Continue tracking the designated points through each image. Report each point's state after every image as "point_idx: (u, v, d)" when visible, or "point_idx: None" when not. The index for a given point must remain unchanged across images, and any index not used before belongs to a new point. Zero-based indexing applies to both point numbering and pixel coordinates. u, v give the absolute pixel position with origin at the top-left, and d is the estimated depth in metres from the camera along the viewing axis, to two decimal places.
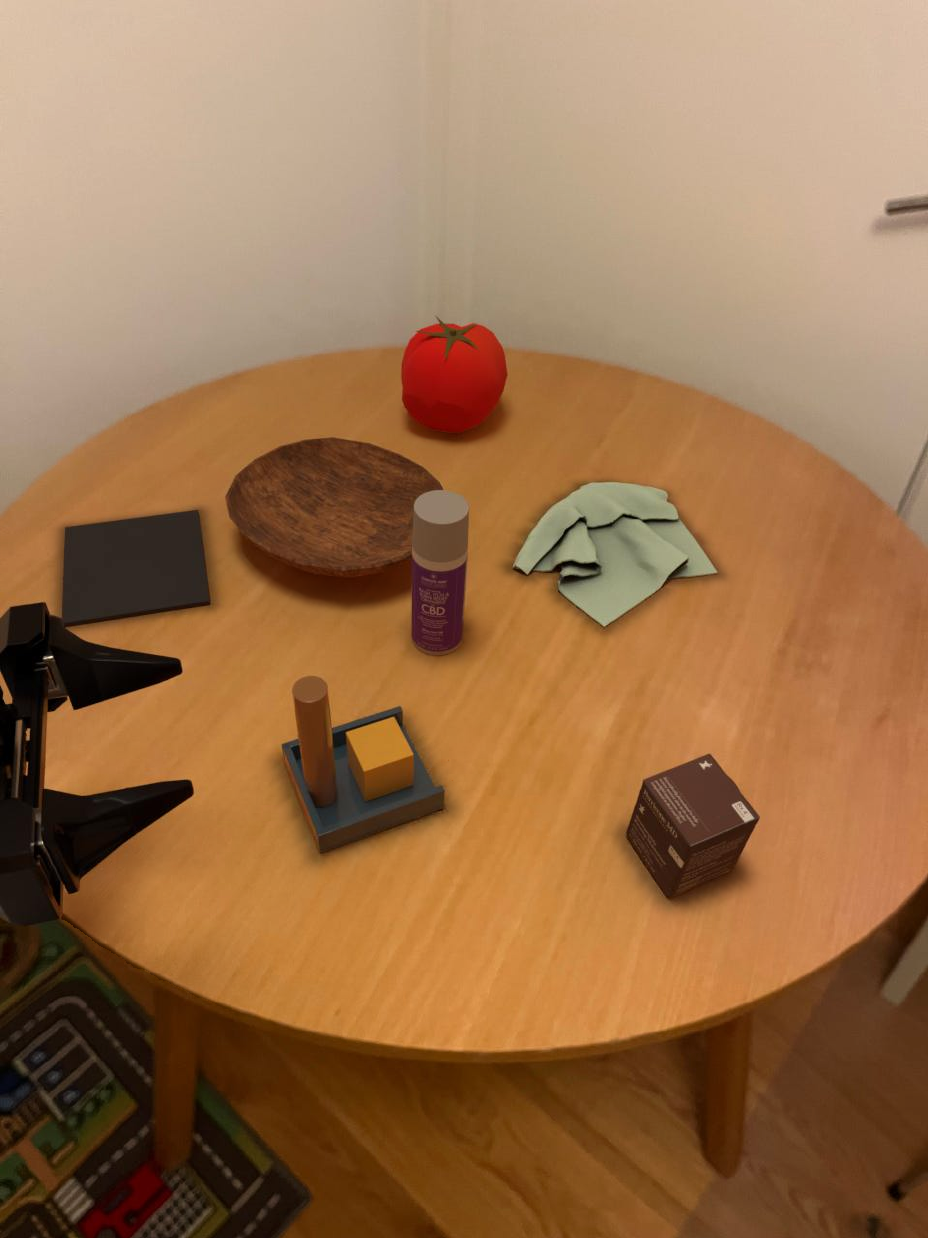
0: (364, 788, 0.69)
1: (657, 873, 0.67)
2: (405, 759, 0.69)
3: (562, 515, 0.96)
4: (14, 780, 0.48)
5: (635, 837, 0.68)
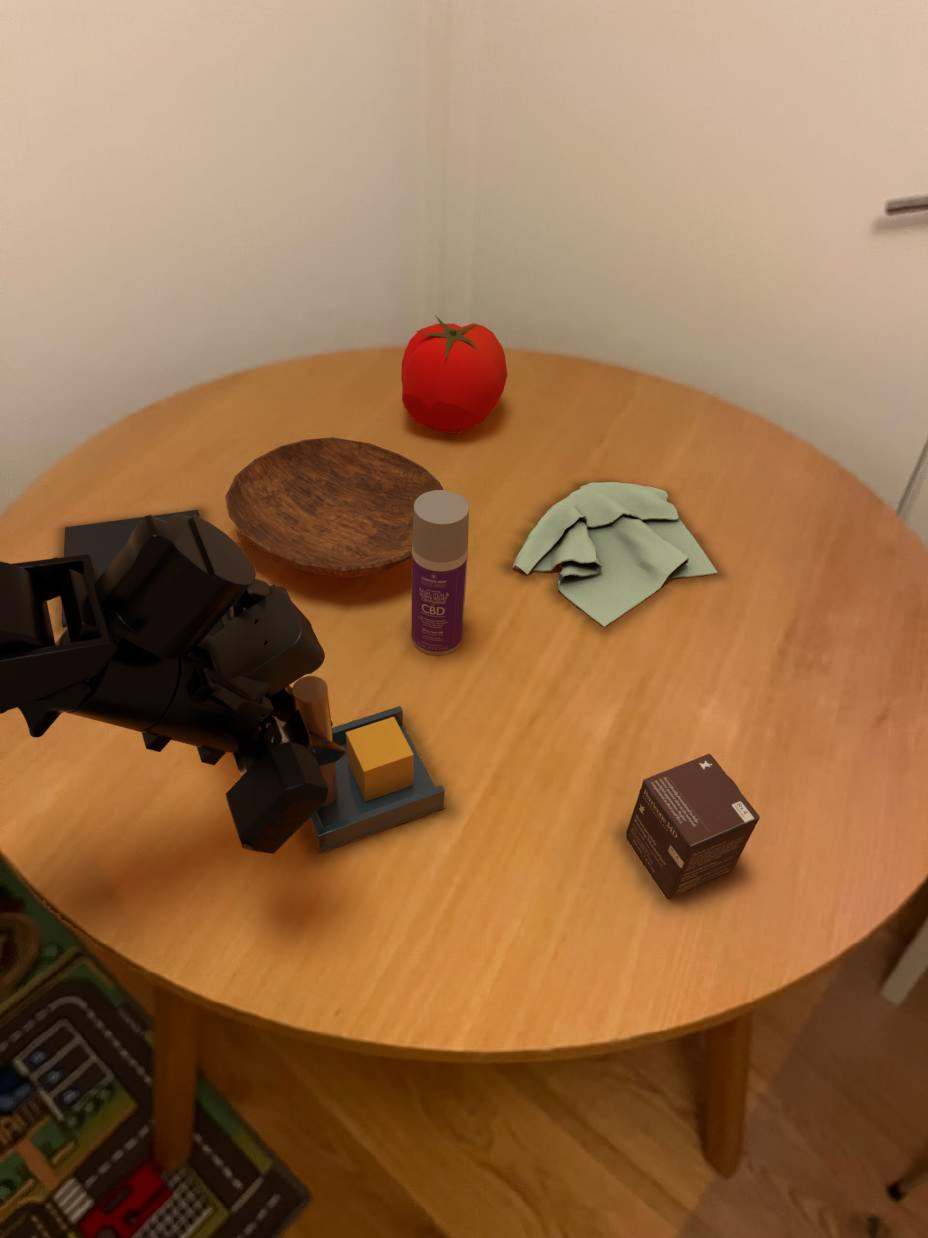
0: (364, 788, 0.69)
1: (657, 873, 0.67)
2: (405, 758, 0.69)
3: (562, 515, 0.96)
4: None
5: (635, 837, 0.68)
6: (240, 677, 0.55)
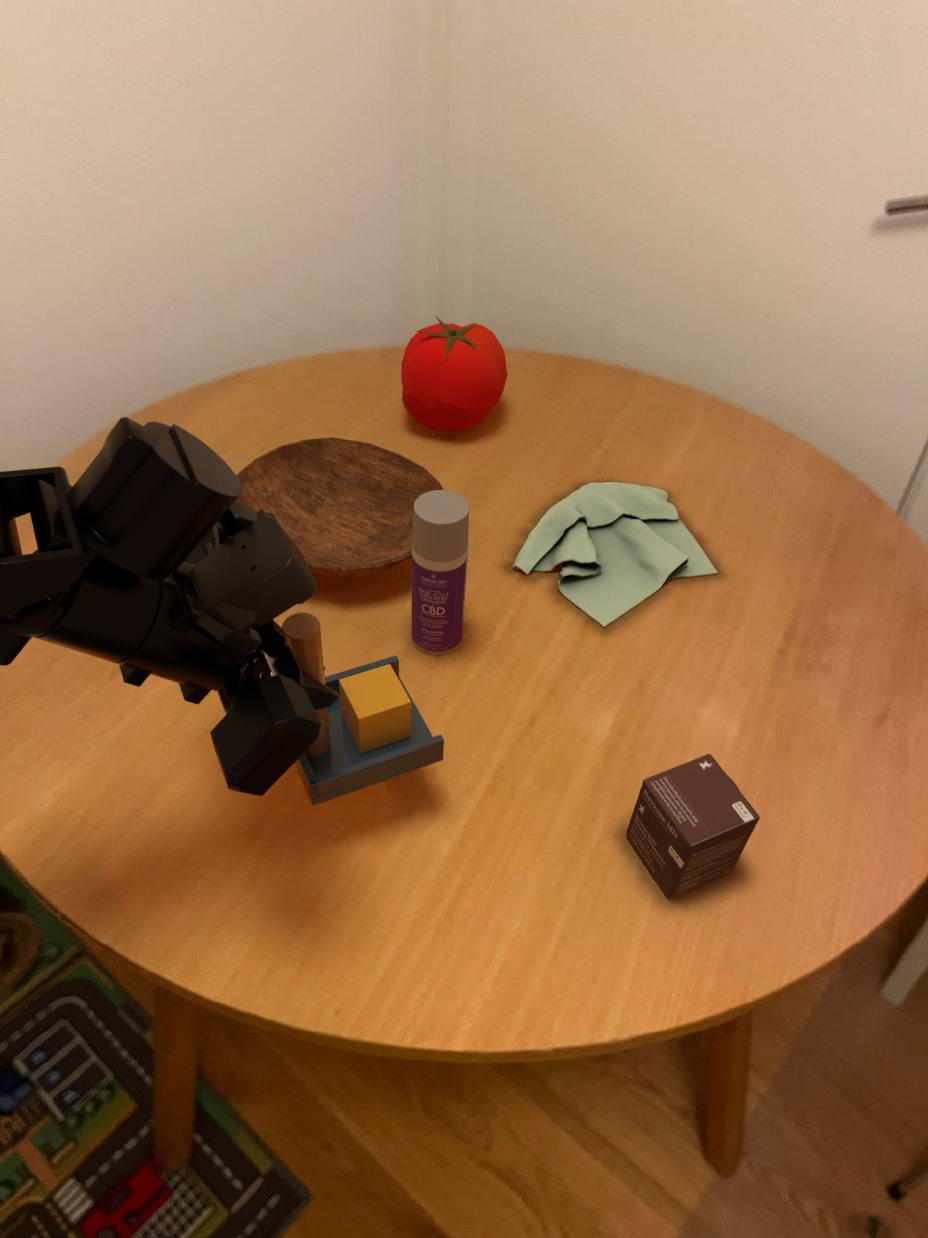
0: (359, 738, 0.65)
1: (657, 873, 0.67)
2: (402, 706, 0.65)
3: (562, 515, 0.96)
4: None
5: (635, 837, 0.68)
6: (225, 604, 0.51)
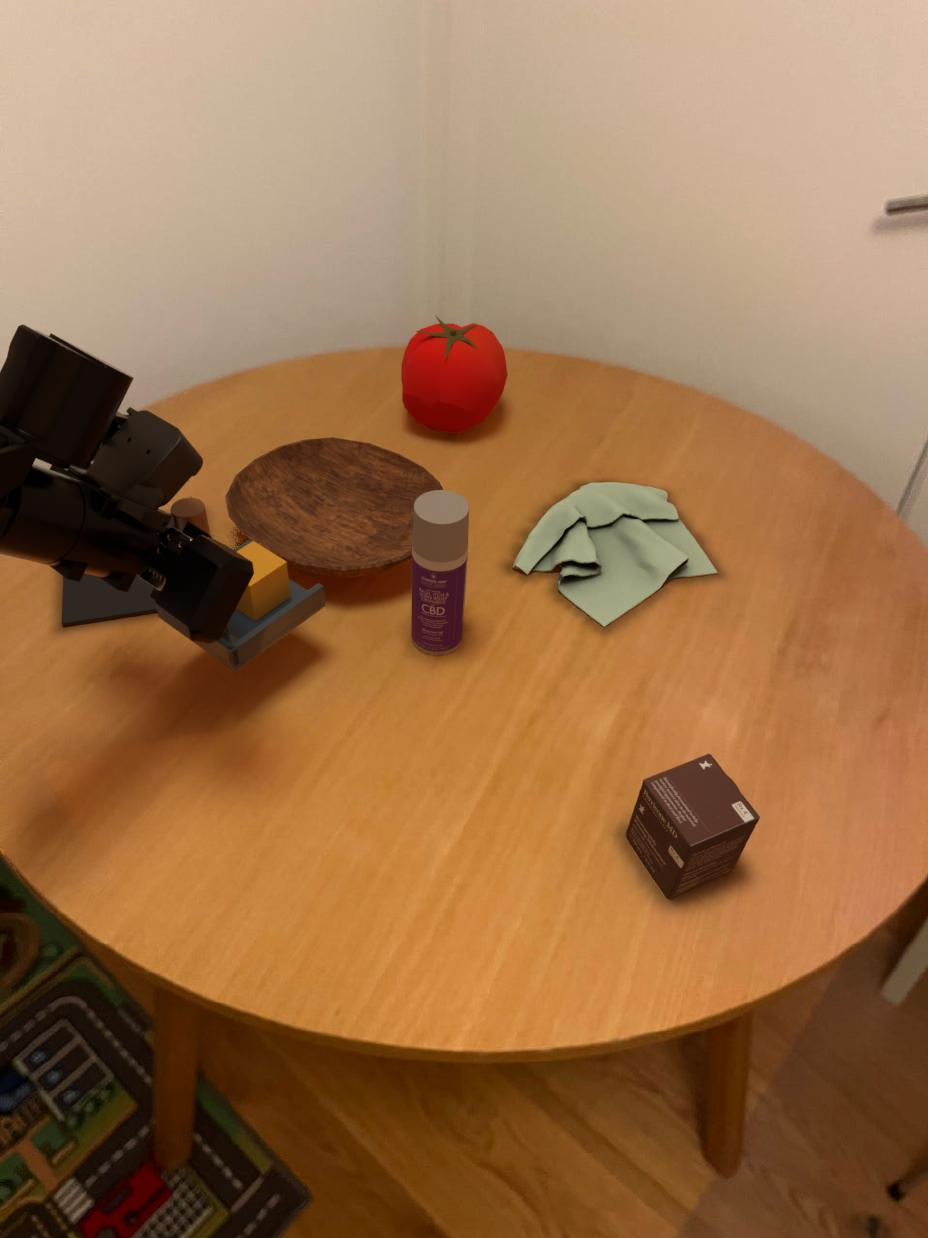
0: (252, 606, 0.74)
1: (657, 873, 0.67)
2: (280, 567, 0.74)
3: (562, 515, 0.96)
4: None
5: (635, 837, 0.68)
6: (137, 486, 0.58)
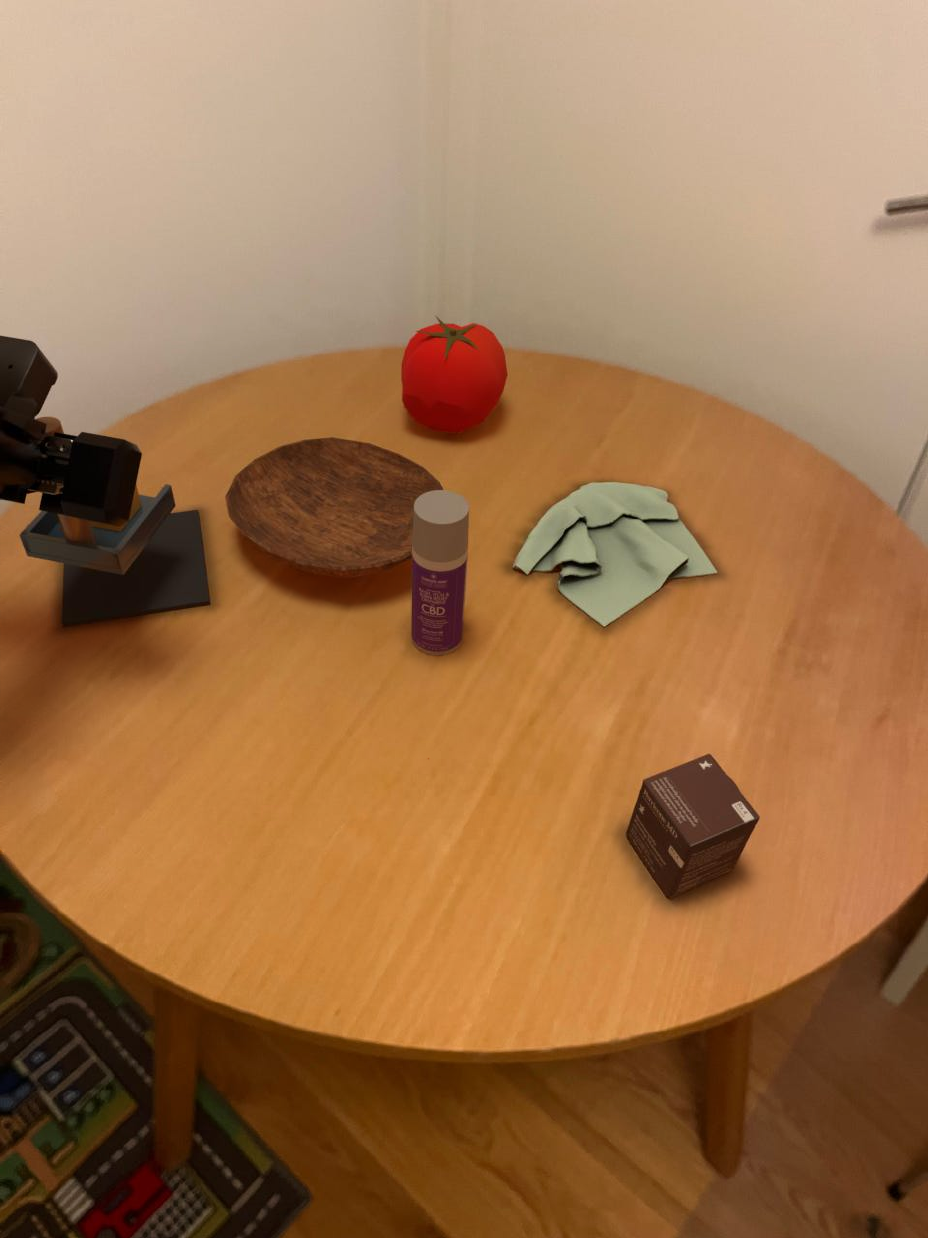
0: None
1: (657, 873, 0.67)
2: None
3: (562, 515, 0.96)
4: None
5: (635, 837, 0.68)
6: (13, 397, 0.63)
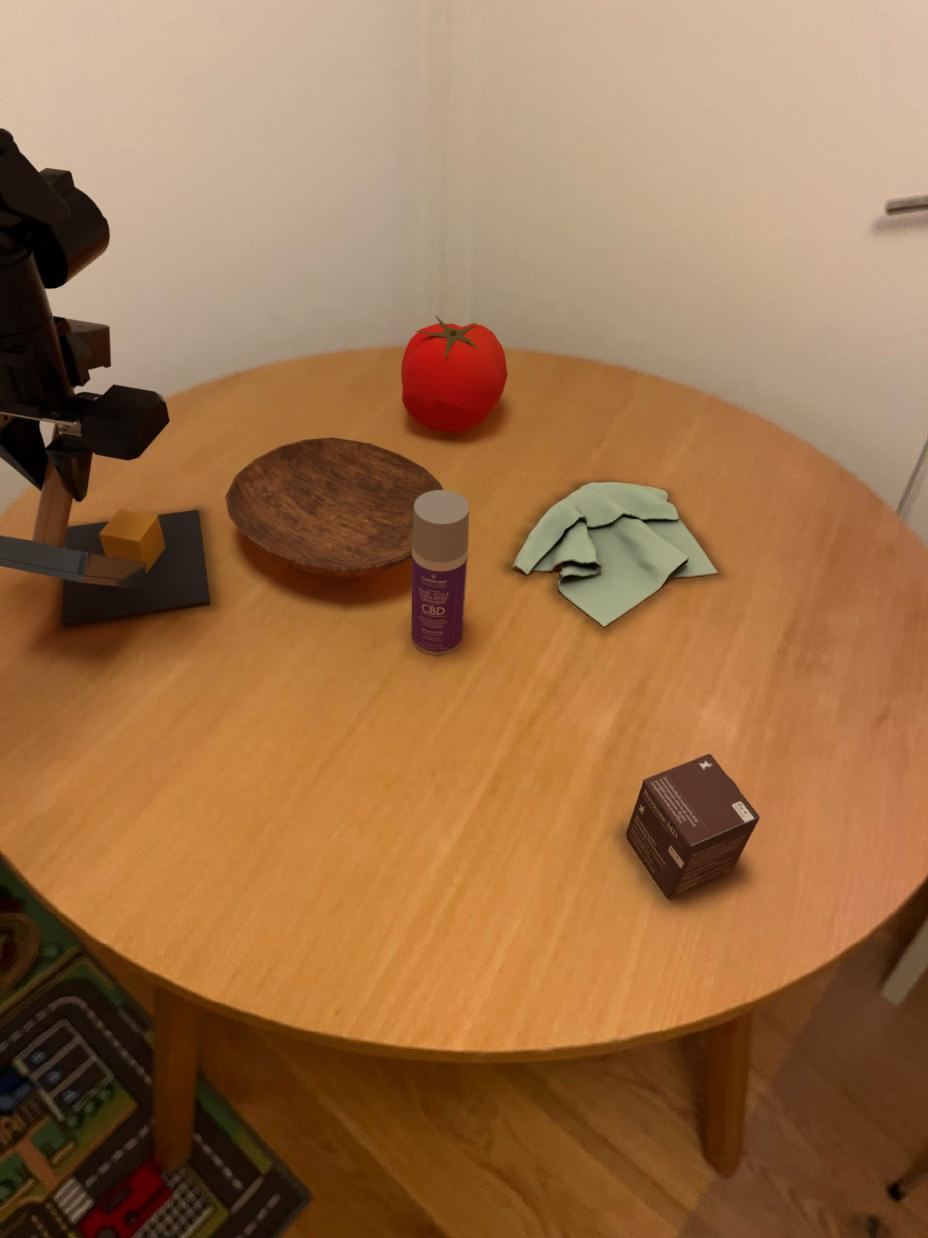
0: (146, 529, 0.86)
1: (657, 873, 0.67)
2: (163, 542, 0.90)
3: (562, 515, 0.96)
4: None
5: (635, 837, 0.68)
6: (77, 334, 0.69)
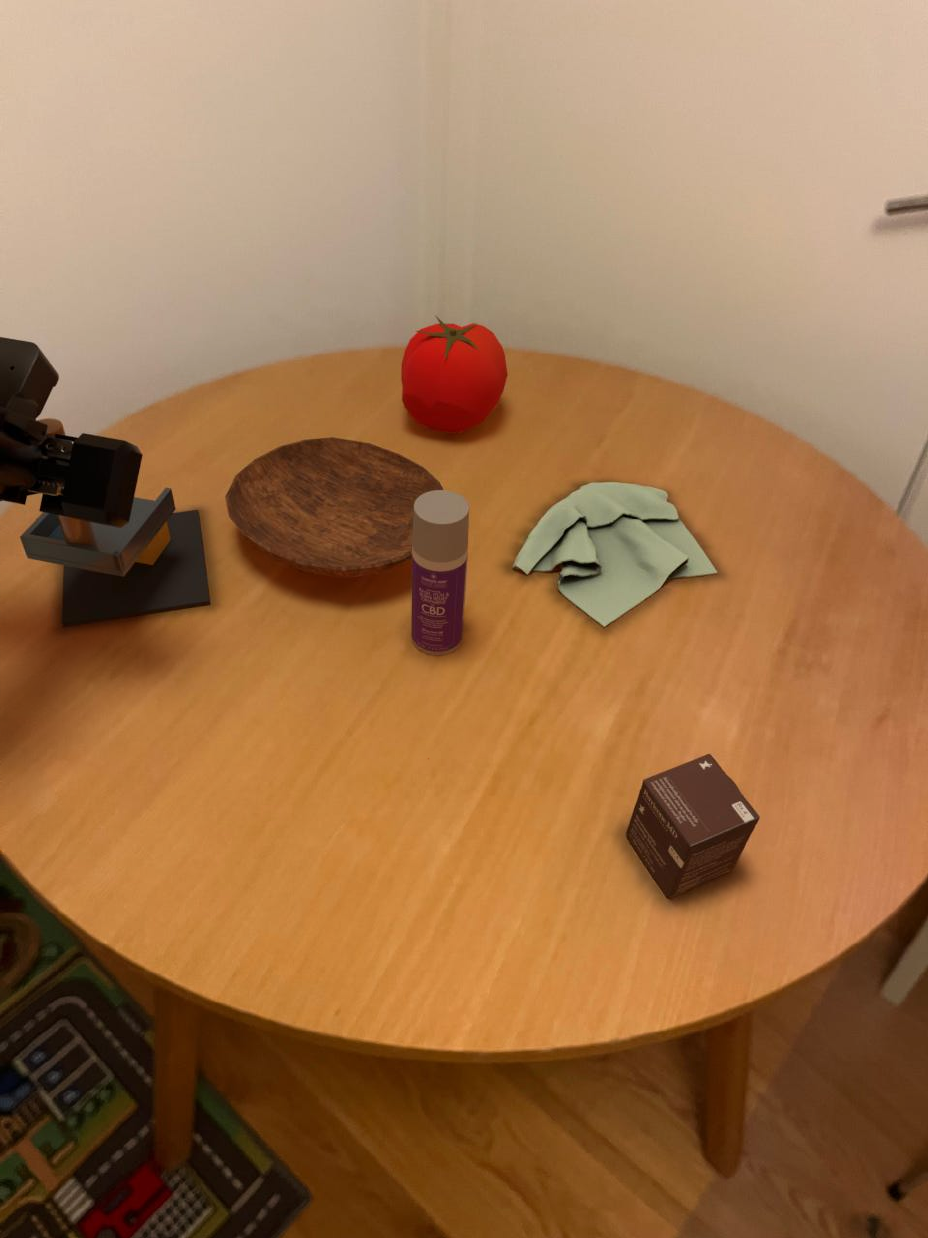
0: None
1: (657, 874, 0.67)
2: (169, 535, 0.90)
3: (562, 515, 0.96)
4: None
5: (635, 837, 0.68)
6: (14, 398, 0.63)
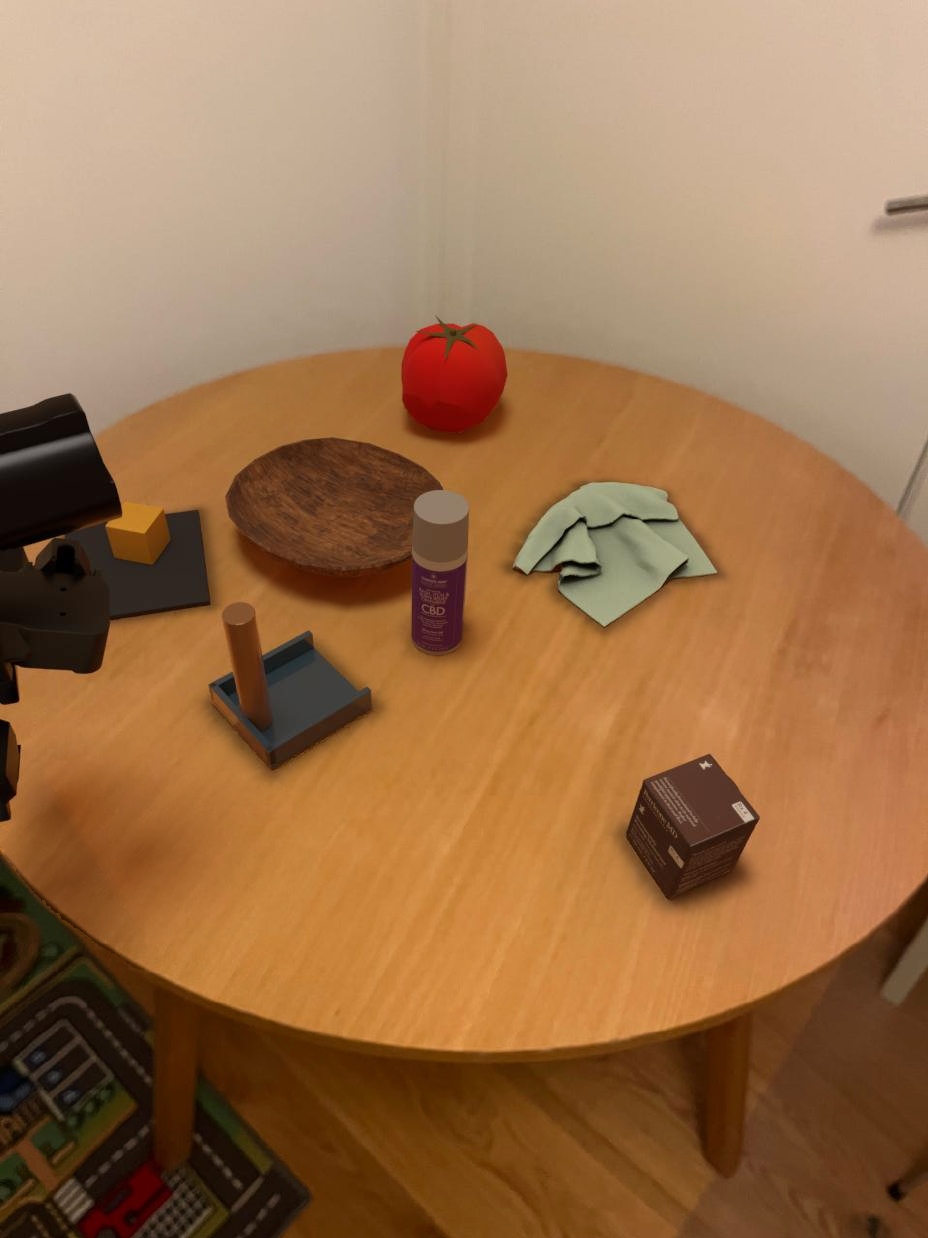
0: (151, 522, 0.87)
1: (657, 874, 0.67)
2: (169, 535, 0.90)
3: (562, 515, 0.96)
4: None
5: (635, 837, 0.68)
6: (13, 627, 0.47)
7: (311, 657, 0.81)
